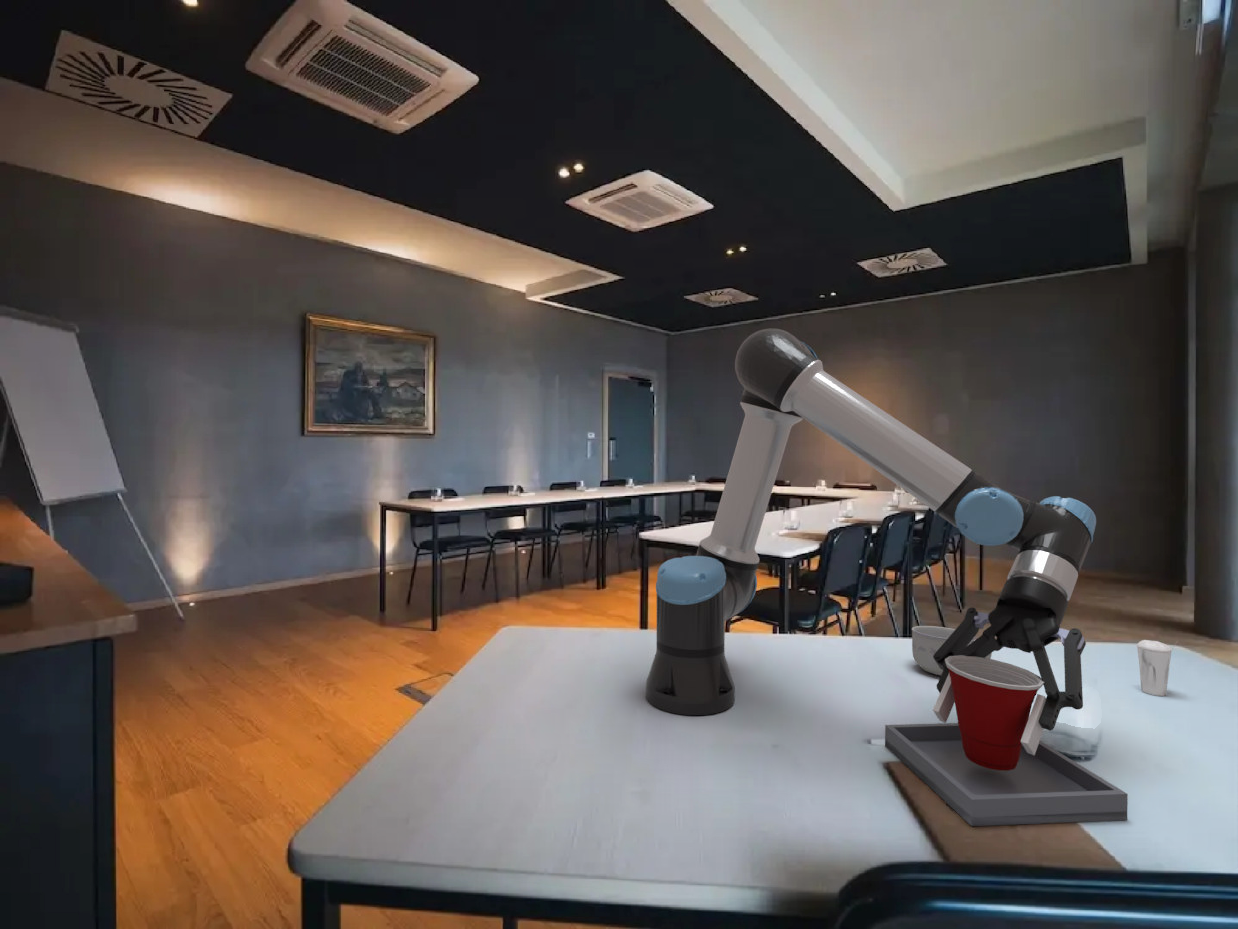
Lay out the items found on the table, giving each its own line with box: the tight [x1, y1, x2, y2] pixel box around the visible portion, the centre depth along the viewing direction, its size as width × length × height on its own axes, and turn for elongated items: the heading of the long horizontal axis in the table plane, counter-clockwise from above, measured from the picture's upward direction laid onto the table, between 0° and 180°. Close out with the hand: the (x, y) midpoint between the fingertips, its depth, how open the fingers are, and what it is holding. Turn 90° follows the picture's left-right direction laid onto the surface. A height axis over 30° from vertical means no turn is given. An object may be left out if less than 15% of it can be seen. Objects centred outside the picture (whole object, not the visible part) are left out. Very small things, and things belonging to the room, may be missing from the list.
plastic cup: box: [945, 655, 1044, 771], centre depth 76 cm, size 11×11×12 cm
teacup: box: [911, 625, 993, 677], centre depth 113 cm, size 14×11×8 cm
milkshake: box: [1136, 639, 1179, 697], centre depth 104 cm, size 4×5×10 cm
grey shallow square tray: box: [884, 722, 1129, 827], centre depth 76 cm, size 19×19×3 cm
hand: (980, 731), depth 74 cm, fingers closed on plastic cup, 10 cm apart
